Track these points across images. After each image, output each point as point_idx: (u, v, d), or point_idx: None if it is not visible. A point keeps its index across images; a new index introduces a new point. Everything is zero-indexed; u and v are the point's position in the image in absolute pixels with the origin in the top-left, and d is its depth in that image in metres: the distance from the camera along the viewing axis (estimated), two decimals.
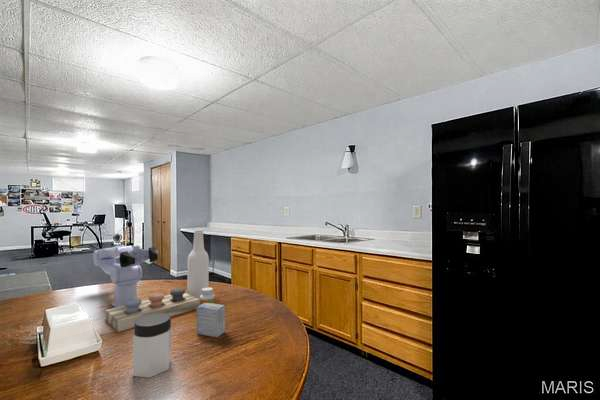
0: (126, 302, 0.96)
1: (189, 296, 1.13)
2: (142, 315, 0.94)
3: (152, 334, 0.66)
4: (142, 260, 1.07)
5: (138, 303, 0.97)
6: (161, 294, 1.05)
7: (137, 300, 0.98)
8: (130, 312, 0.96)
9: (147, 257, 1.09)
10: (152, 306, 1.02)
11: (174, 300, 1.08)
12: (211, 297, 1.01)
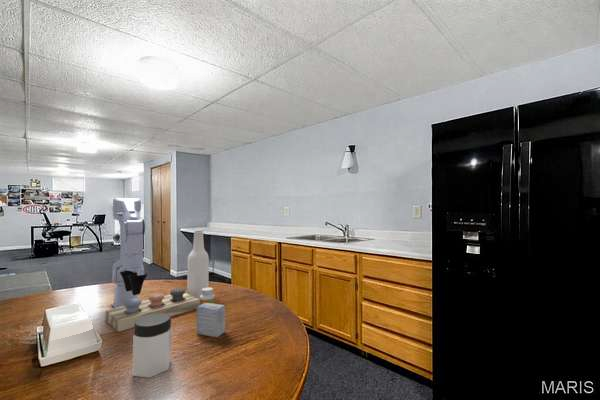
0: (126, 302, 0.96)
1: (189, 296, 1.13)
2: (142, 315, 0.94)
3: (152, 334, 0.66)
4: None
5: (138, 303, 0.97)
6: (161, 294, 1.05)
7: (137, 300, 0.98)
8: (130, 312, 0.96)
9: None
10: (152, 306, 1.02)
11: (174, 300, 1.08)
12: (211, 297, 1.01)
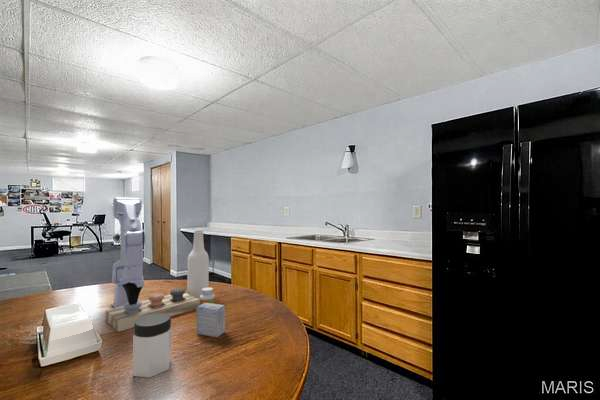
0: (126, 305, 0.96)
1: (189, 296, 1.13)
2: (142, 315, 0.94)
3: (152, 334, 0.66)
4: None
5: (138, 306, 0.97)
6: (161, 294, 1.05)
7: (137, 303, 0.98)
8: None
9: None
10: (152, 306, 1.02)
11: (174, 300, 1.08)
12: (211, 297, 1.01)
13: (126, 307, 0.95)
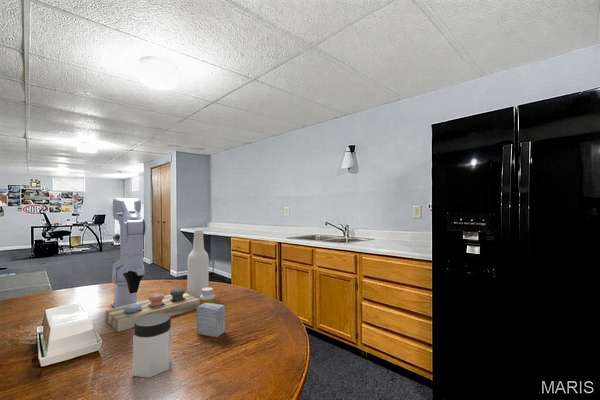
0: (126, 308, 0.96)
1: (189, 296, 1.13)
2: (142, 315, 0.94)
3: (152, 334, 0.66)
4: None
5: (138, 309, 0.97)
6: (161, 294, 1.05)
7: (137, 306, 0.98)
8: None
9: None
10: (152, 306, 1.02)
11: (174, 300, 1.08)
12: (211, 297, 1.01)
13: (126, 310, 0.95)
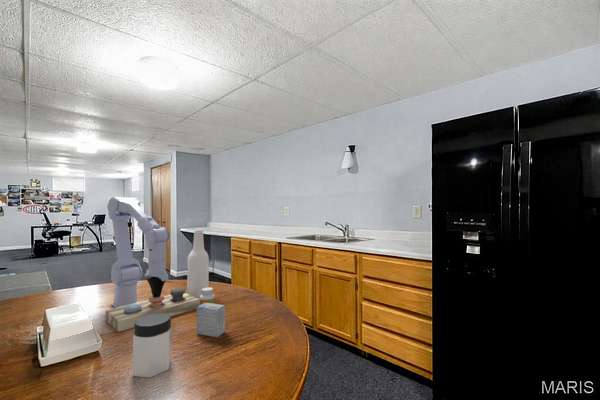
0: (126, 308, 0.96)
1: (189, 296, 1.13)
2: (142, 315, 0.94)
3: (152, 334, 0.66)
4: None
5: (138, 309, 0.97)
6: (161, 295, 1.05)
7: (137, 306, 0.98)
8: None
9: None
10: (152, 307, 1.02)
11: (174, 300, 1.08)
12: (211, 297, 1.01)
13: (126, 310, 0.95)
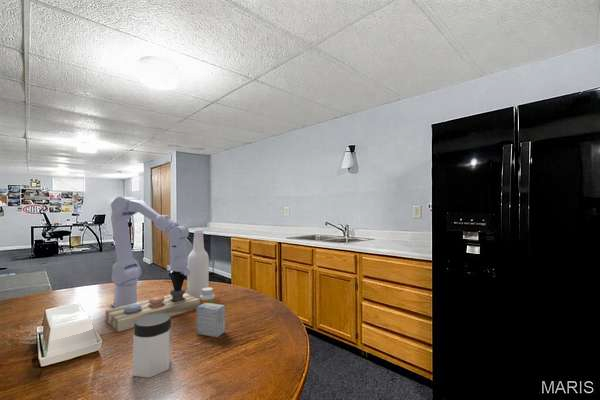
0: (126, 308, 0.96)
1: (189, 296, 1.13)
2: (142, 315, 0.94)
3: (152, 334, 0.66)
4: None
5: (138, 309, 0.97)
6: (161, 297, 1.05)
7: (137, 306, 0.98)
8: None
9: None
10: None
11: (174, 300, 1.08)
12: (211, 297, 1.01)
13: (126, 310, 0.95)
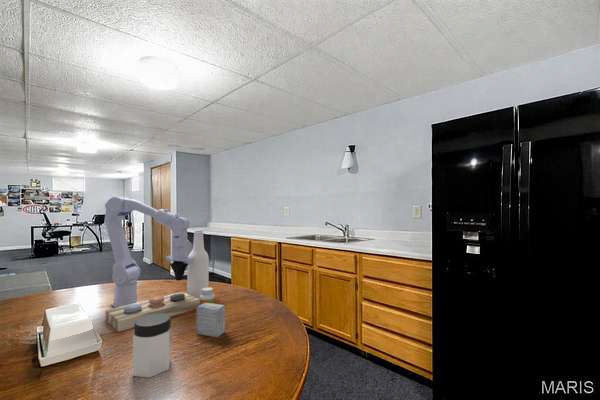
0: (126, 308, 0.96)
1: (189, 296, 1.13)
2: (142, 315, 0.94)
3: (152, 334, 0.66)
4: None
5: (138, 309, 0.97)
6: (161, 297, 1.05)
7: (137, 306, 0.98)
8: None
9: None
10: None
11: None
12: (211, 297, 1.01)
13: (126, 310, 0.95)
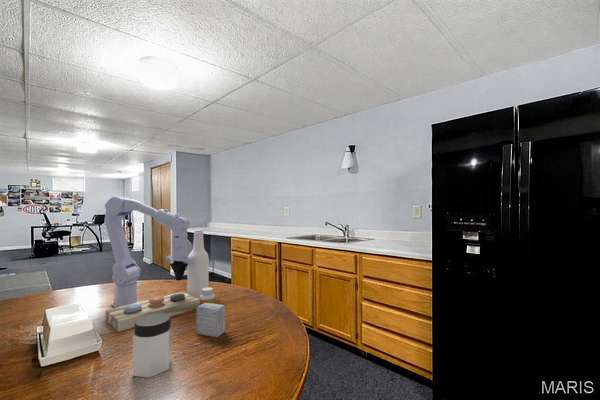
0: (126, 308, 0.96)
1: (189, 296, 1.13)
2: (142, 315, 0.94)
3: (152, 334, 0.66)
4: None
5: (138, 309, 0.97)
6: (161, 297, 1.05)
7: (137, 306, 0.98)
8: None
9: None
10: None
11: None
12: (211, 297, 1.01)
13: (126, 310, 0.95)
